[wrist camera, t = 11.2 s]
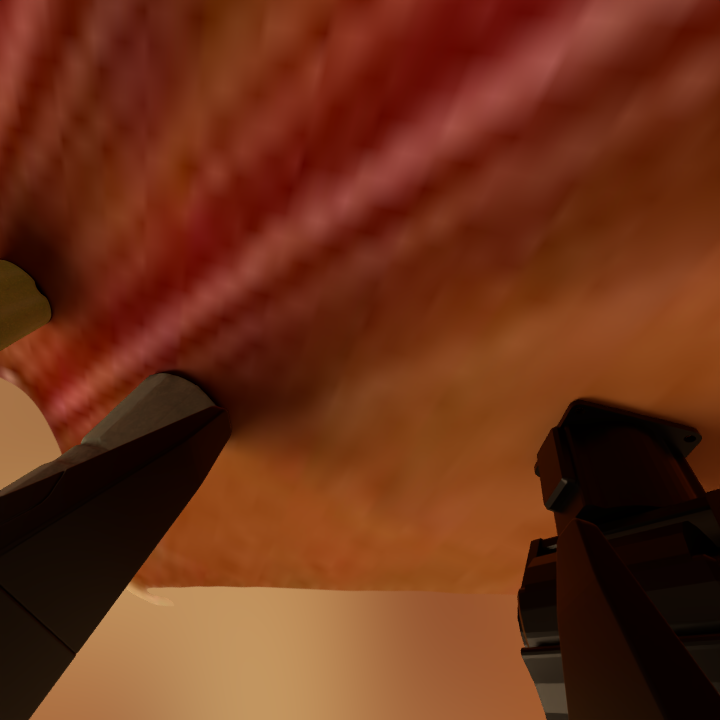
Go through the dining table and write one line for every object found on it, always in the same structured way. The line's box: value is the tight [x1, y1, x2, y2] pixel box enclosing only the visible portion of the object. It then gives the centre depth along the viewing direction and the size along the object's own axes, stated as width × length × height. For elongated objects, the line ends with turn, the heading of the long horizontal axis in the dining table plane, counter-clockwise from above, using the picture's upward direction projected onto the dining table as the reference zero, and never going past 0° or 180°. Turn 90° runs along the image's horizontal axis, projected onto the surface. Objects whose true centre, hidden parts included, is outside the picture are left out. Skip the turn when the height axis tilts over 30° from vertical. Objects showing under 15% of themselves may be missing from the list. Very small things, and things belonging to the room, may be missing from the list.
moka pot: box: [0, 373, 216, 496], centre depth 24 cm, size 10×15×20 cm, turn 146°
